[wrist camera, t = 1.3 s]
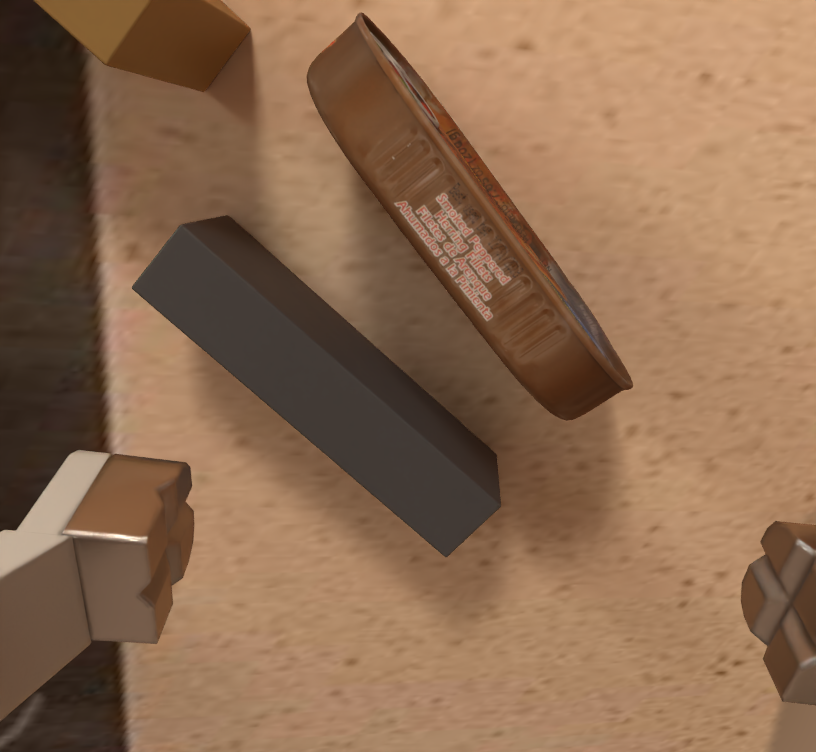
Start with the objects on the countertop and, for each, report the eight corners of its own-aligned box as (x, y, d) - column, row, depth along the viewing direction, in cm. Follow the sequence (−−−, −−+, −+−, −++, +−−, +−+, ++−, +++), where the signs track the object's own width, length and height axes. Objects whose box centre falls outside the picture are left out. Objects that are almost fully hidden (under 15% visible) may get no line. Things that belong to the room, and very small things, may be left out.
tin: (616, 346, 30) (670, 413, 22) (551, 390, 31) (580, 470, 22) (387, 29, 27) (352, -28, 19) (323, 85, 28) (262, 54, 20)
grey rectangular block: (227, 213, 30) (180, 223, 25) (497, 454, 32) (502, 506, 27) (183, 268, 30) (129, 288, 26) (449, 500, 32) (445, 559, 28)
